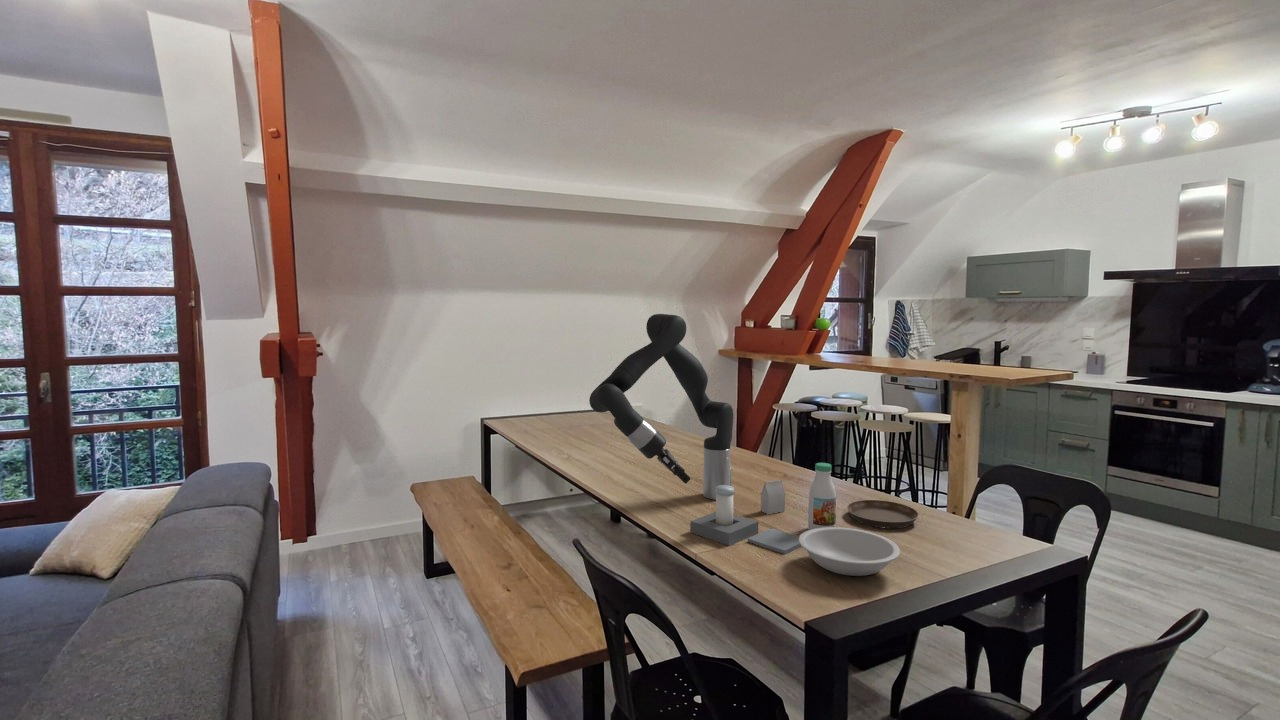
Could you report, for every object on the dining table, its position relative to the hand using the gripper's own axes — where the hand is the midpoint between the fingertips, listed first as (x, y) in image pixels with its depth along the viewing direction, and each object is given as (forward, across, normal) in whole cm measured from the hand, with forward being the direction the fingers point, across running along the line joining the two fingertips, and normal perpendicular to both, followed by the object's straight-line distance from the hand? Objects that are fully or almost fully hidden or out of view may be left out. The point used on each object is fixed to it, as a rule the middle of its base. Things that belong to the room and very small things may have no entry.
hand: (685, 477), depth 176 cm
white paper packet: (+35, +18, -11) cm, 41 cm away
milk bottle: (+41, -1, -17) cm, 44 cm away
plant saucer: (+57, +6, -33) cm, 66 cm away
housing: (+20, 0, +4) cm, 21 cm away
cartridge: (+20, 0, +4) cm, 21 cm away
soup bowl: (+38, -28, -13) cm, 49 cm away
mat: (+30, -9, -6) cm, 31 cm away
